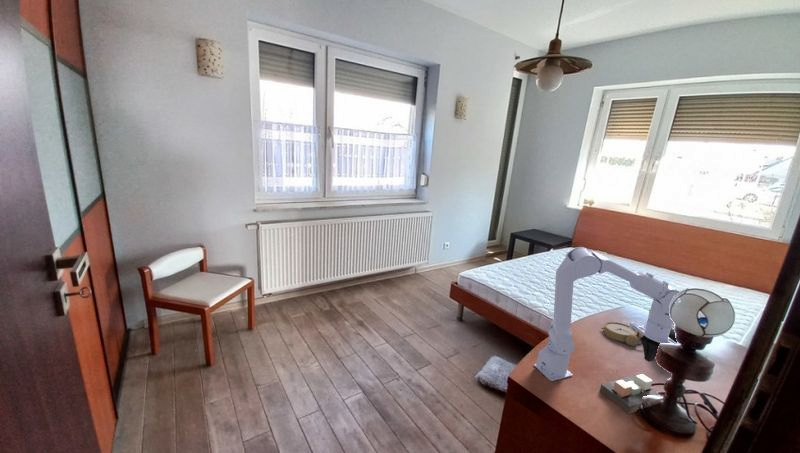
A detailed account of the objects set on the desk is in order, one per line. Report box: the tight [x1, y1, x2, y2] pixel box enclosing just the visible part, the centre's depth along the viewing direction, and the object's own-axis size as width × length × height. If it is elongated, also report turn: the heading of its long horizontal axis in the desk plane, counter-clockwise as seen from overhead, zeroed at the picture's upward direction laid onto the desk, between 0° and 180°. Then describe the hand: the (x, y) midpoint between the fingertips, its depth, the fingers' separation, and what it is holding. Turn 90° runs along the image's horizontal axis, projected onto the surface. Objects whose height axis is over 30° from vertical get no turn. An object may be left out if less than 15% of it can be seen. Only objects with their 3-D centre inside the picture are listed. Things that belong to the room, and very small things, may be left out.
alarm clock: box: [600, 321, 644, 346], centre depth 126 cm, size 11×5×15 cm
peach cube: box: [613, 379, 632, 397], centre depth 92 cm, size 3×3×3 cm
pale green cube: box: [626, 381, 641, 396], centre depth 94 cm, size 3×3×3 cm
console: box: [599, 375, 661, 415], centre depth 95 cm, size 14×9×3 cm, turn 108°
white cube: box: [634, 373, 653, 391], centre depth 95 cm, size 3×3×3 cm
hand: (648, 359), depth 97 cm, fingers closed
